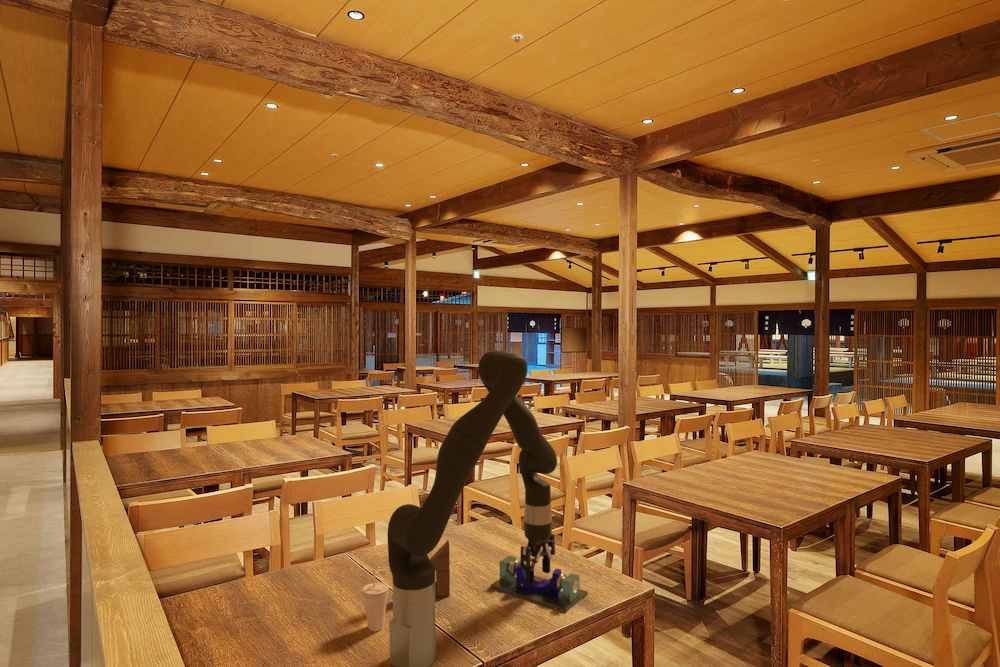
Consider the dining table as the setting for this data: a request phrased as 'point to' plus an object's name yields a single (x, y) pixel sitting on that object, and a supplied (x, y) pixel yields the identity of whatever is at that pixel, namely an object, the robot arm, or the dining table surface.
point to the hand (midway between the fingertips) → (538, 577)
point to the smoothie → (375, 604)
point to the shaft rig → (562, 602)
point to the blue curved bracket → (537, 583)
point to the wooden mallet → (442, 570)
